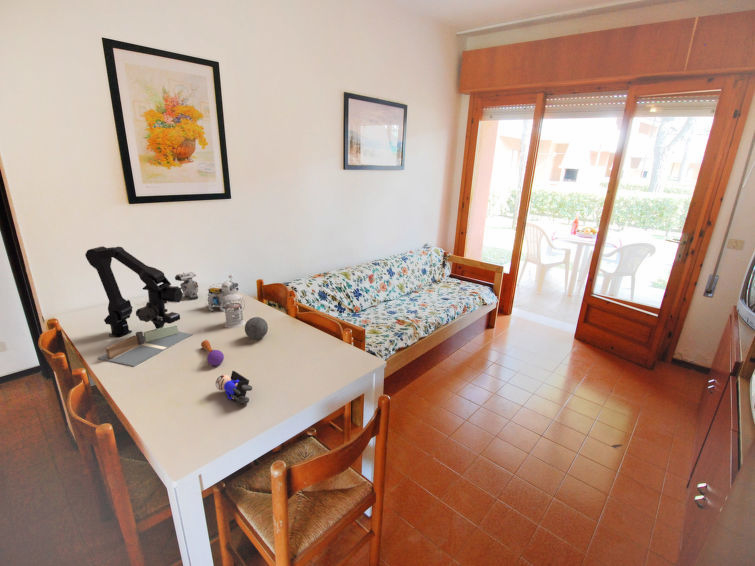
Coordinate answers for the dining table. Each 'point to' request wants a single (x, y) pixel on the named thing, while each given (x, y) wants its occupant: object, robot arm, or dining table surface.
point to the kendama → (212, 354)
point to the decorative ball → (256, 328)
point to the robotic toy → (221, 295)
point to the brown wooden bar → (125, 345)
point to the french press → (236, 320)
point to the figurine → (188, 284)
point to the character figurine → (234, 386)
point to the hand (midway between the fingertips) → (159, 332)
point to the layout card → (146, 350)
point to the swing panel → (160, 332)
